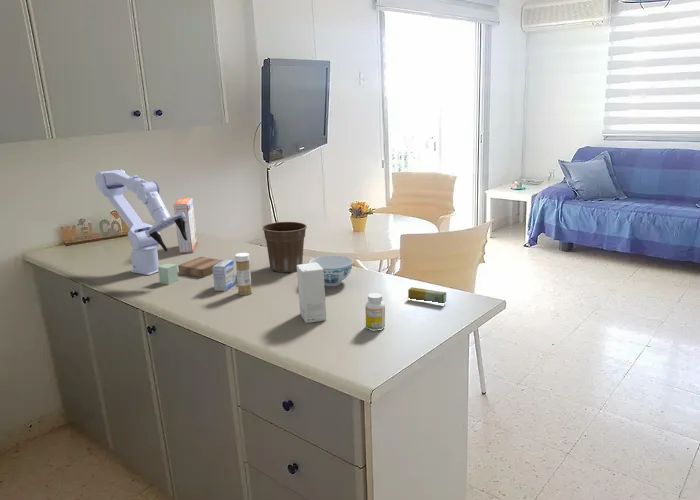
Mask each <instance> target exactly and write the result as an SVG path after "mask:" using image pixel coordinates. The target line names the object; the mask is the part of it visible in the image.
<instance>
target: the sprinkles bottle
mask: <svg viewBox="0 0 700 500" xmlns="http://www.w3.org/2000/svg"><path fill="white" fill-rule="evenodd" d="M234 260H235V261H234V262H235V268H236V269H235V270H236V279H237V288H238V289H237V290H238V291H237V293H238V294H239V295H241V296H248V295H251V294H252V293H253V292H252V278H251V266H250V253H248V252H238V253H236V254H235V255H234Z"/></svg>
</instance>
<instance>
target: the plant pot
mask: <svg viewBox="0 0 700 500" xmlns="http://www.w3.org/2000/svg"><path fill="white" fill-rule="evenodd" d="M262 230H263V233H264V238H265V242H266V249H267V255H268V261H269V262H268V263H269V269H270V270H271V271H273V272H275V271H276V272H277V273H291V272H297V265H300V264H304V263H303V260H304V257H303V256H304V245H305V244H304V243H305V237H306V230H307V224H305V223H303V222H297V221H279V222H272V223H266V224H264V225H263V226H262Z"/></svg>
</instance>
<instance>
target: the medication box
mask: <svg viewBox="0 0 700 500" xmlns="http://www.w3.org/2000/svg"><path fill="white" fill-rule="evenodd" d="M407 292H408V294H407V295H408V297H407V299H408V298H410V299H416V300H424V301H432V302H438V303H445V302H446V303H447V295H448V293H447V292H446V291H445V292H444V291H438V290H432V289H426V288H419V287H418V288H417V287H410V288H408V289H407Z"/></svg>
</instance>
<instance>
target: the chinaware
mask: <svg viewBox="0 0 700 500" xmlns="http://www.w3.org/2000/svg"><path fill="white" fill-rule="evenodd" d="M316 262H317V263H318V264H319V265H320V266H321V267H322V268H323V270H324V287H325V286H327V287H336V286H340V285H341V284H342V282H343V281H344V280H345V279H346V278H347V277H348V276H349V275H350V273H351V271H352V268H353V265H354V260H353V259H352V258H350V257H348V256H345V255H333V254H332V255H322V256H318V257H314V258H312V259H310V260H309V262H308V263H316Z"/></svg>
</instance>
